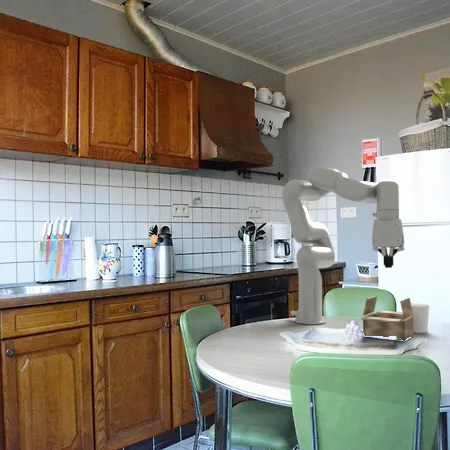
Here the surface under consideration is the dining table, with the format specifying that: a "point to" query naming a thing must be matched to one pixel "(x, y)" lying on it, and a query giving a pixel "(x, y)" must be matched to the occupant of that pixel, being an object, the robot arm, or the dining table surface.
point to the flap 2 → (406, 308)
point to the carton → (388, 325)
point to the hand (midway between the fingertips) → (388, 267)
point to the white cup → (420, 317)
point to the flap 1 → (370, 305)
